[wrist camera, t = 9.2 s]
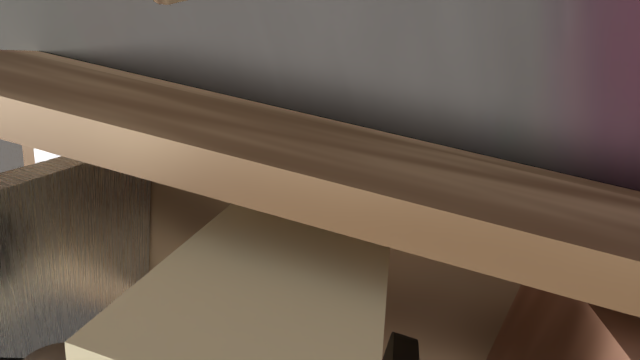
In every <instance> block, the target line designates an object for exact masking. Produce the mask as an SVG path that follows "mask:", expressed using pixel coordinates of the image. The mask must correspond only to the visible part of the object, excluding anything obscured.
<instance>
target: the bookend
mask: <svg viewBox="0 0 640 360" xmlns="http://www.w3.org/2000/svg"><path fill="white" fill-rule="evenodd" d="M34 157H35V164H31V165H28V166H24V167H20V168H17V169H13V170H10V171H6V172H2V173H0V357H3V358H25V357H26V356H27V355H29V354H30V353H32V352H34V351H36V350H37V349H39V348H42V347H44V346H47V345H51V344H55V343H63V342H65V341H66V340H67V339H69V338H70V337H71V336H72V335H73V334H75V333H76V332H77V331H78V330H79V329H81V328H82V327H83V326H84V325H86V324H87V323H88V322H89V321H90V320H92V319H93V318H94V317H95V316H96V315H98V314H99V313H100V312H101V311H102V310H104V309H105V308H106V307H107V306H108V305H110V304H111V303H112V302H113V301H114V300H116V299H117V298H118V297H119V296H121V295H122V294H123V293H124V292H125V291H127V290H128V289H129V288H130V287H131V286H133V285H134V284H135V283H136V282H137V281H139V280H140V279H141V278H142V277H143V276H145V275H146V274H147V273H148V272H149V243H150V204H151V181H149V180H145V179H142V178H138V177H135V176H131V175H128V174H124V173H120V172H117V171H113V170H110V169H106V168H102V167H99V166H95V165H92V164H88V163H85V162H81V161H77V160H74V159H70V158H67V157H63V156H59V155H56V154H52V153H49V152H45V151H42V150H38V149H34Z"/></svg>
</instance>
